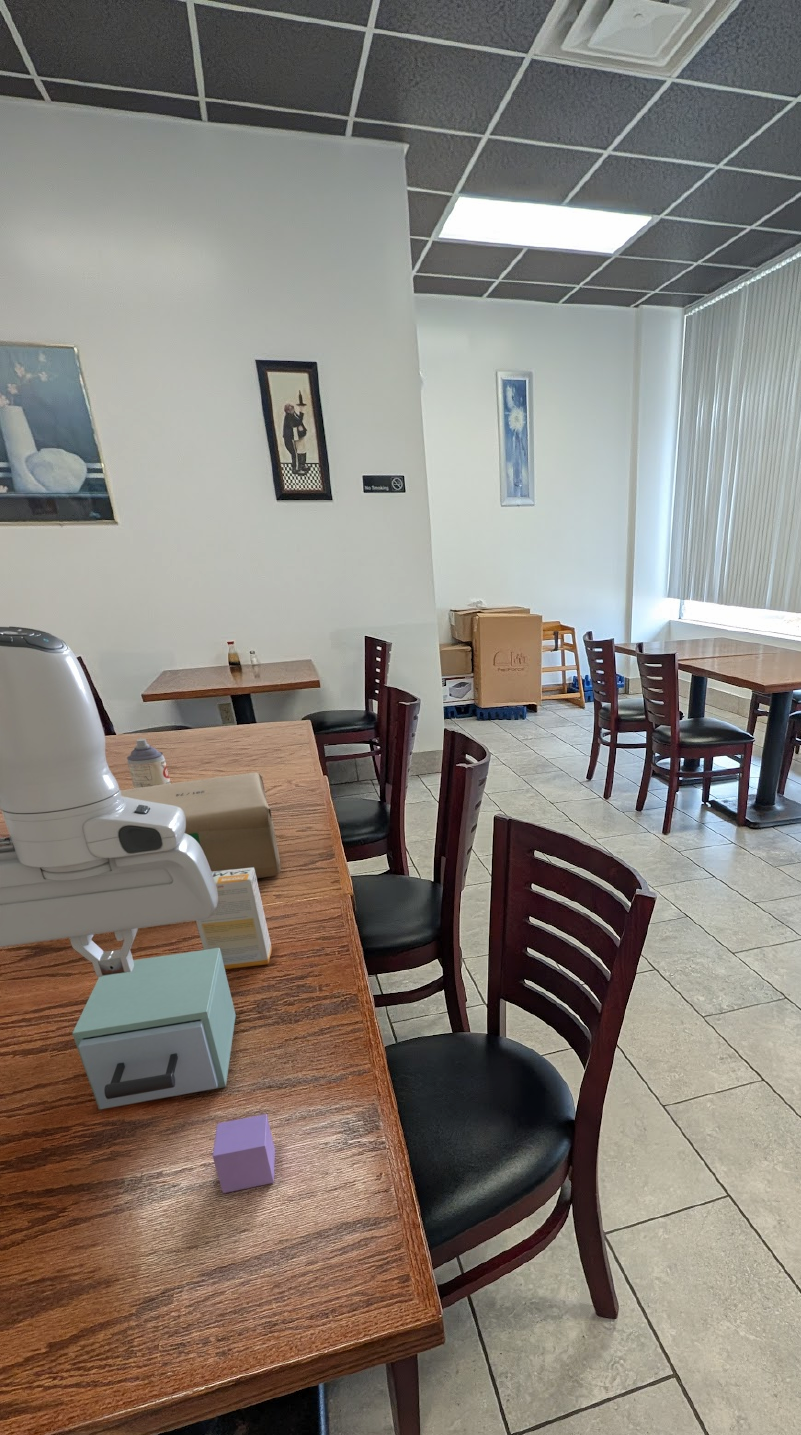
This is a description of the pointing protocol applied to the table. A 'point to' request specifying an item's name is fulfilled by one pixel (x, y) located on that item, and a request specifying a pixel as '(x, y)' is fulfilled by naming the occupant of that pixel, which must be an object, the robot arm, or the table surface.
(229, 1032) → the mint green drawer box
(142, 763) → the aerosol can
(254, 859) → the paper package
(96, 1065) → the drawer
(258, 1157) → the purple cube
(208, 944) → the supplement box
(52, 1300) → the table surface
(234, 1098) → the table surface
